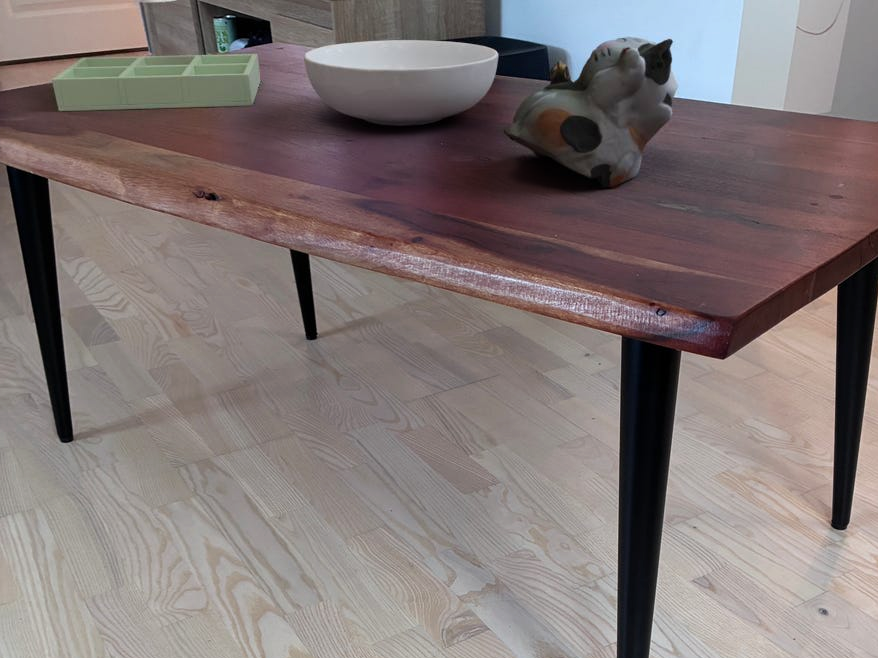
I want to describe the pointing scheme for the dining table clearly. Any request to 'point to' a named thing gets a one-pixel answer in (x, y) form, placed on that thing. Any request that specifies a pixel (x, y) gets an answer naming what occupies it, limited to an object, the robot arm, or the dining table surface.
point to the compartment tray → (158, 82)
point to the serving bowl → (401, 79)
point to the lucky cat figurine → (601, 110)
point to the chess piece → (153, 1)
